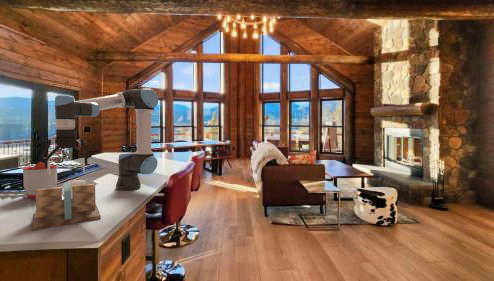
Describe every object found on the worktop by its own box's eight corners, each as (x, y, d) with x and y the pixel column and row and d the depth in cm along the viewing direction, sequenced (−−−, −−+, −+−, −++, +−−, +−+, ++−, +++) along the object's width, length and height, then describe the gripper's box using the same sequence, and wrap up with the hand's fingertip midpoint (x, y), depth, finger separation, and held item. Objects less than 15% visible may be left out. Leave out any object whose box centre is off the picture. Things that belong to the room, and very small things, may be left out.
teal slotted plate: (70, 206, 128) (69, 182, 127) (71, 218, 112) (71, 191, 111) (64, 207, 127) (63, 182, 126) (64, 219, 110) (64, 191, 110)
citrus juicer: (52, 190, 161) (51, 158, 160) (61, 196, 150) (61, 161, 149) (19, 195, 149) (18, 161, 148) (27, 202, 138) (25, 164, 137)
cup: (83, 200, 143) (83, 182, 142) (57, 202, 139) (57, 183, 138) (87, 196, 151) (87, 179, 150) (63, 198, 147) (62, 180, 146)
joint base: (95, 204, 136) (94, 179, 135) (100, 218, 117) (100, 189, 116) (36, 212, 122) (35, 184, 121) (31, 230, 103) (30, 196, 102)
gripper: (30, 129, 112) (32, 177, 114) (97, 128, 126) (98, 172, 128) (32, 128, 118) (34, 174, 120) (95, 128, 133) (96, 169, 134)
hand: (67, 173), depth 124 cm, fingers open, 13 cm apart
